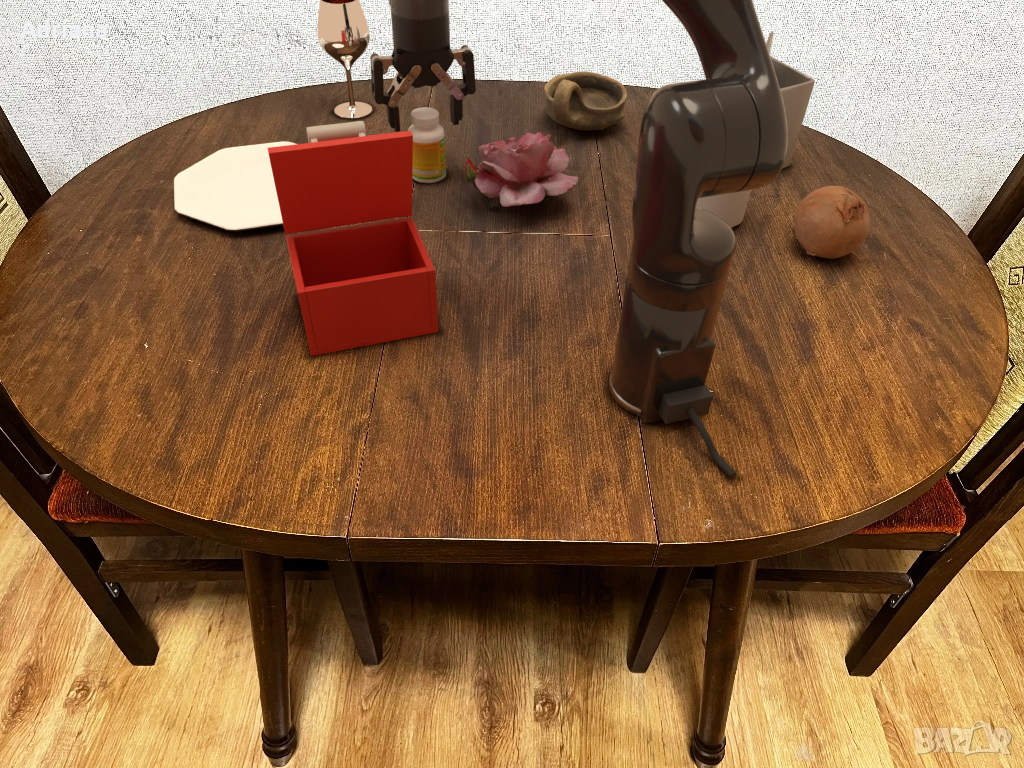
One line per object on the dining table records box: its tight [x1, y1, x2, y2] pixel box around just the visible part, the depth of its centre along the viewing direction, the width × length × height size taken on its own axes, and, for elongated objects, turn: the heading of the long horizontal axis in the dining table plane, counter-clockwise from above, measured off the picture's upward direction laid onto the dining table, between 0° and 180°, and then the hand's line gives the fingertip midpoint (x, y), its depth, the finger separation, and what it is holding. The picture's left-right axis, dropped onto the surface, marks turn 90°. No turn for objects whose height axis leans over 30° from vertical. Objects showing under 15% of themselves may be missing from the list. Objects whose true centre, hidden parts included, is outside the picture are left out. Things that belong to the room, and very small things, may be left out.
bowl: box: [544, 70, 628, 131], centre depth 124 cm, size 14×18×10 cm
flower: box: [463, 131, 579, 210], centre depth 107 cm, size 15×15×10 cm
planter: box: [765, 31, 816, 170], centre depth 114 cm, size 16×8×19 cm, turn 164°
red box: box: [285, 216, 439, 357], centre depth 87 cm, size 11×15×9 cm
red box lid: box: [267, 120, 414, 235], centre depth 84 cm, size 12×15×5 cm
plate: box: [173, 140, 296, 233], centre depth 110 cm, size 24×24×2 cm
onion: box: [791, 185, 871, 259], centre depth 100 cm, size 10×9×10 cm
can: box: [696, 190, 752, 229], centre depth 104 cm, size 8×8×12 cm
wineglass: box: [316, 0, 373, 120], centre depth 124 cm, size 8×8×18 cm
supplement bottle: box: [407, 106, 447, 184], centre depth 112 cm, size 5×5×10 cm
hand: (426, 126), depth 110 cm, fingers open, 8 cm apart
